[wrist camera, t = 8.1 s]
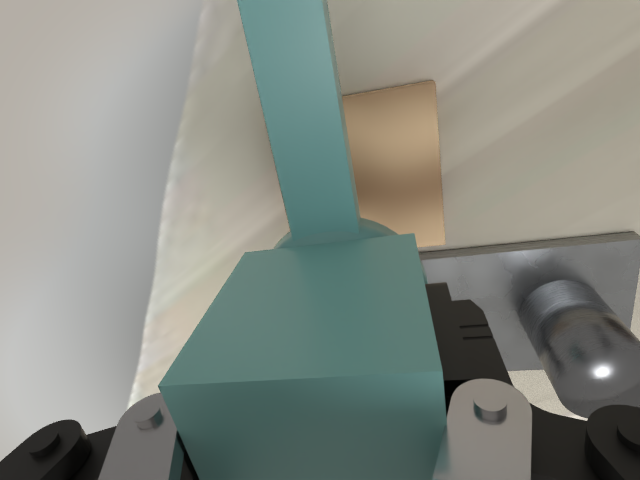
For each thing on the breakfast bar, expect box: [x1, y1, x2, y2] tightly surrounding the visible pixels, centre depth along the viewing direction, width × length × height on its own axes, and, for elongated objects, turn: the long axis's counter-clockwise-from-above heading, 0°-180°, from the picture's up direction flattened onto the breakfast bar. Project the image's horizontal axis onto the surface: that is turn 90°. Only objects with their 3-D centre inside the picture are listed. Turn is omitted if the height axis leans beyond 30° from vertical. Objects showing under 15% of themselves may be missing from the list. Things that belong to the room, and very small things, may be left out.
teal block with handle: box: [158, 0, 447, 480], centre depth 9 cm, size 5×12×6 cm, turn 11°
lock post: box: [419, 232, 640, 418], centre depth 23 cm, size 9×20×10 cm, turn 100°
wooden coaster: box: [263, 80, 445, 247], centre depth 23 cm, size 9×9×1 cm
